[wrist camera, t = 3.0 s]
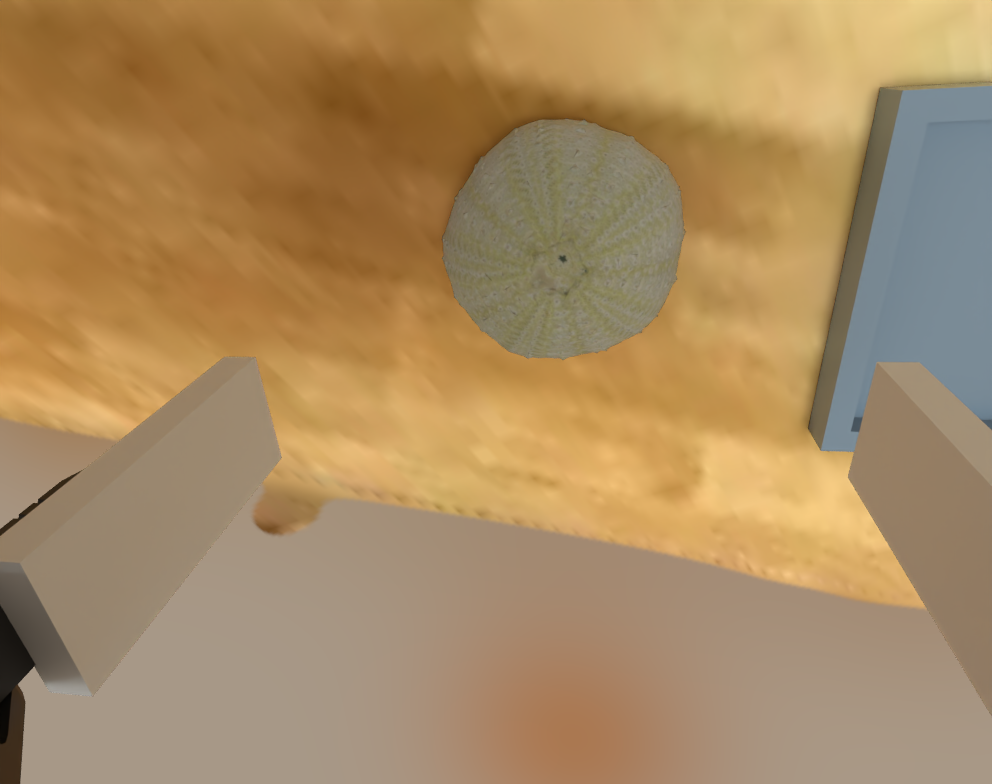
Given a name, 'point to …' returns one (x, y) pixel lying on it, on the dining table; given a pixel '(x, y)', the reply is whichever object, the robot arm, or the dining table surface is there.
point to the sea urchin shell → (564, 239)
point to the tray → (915, 258)
